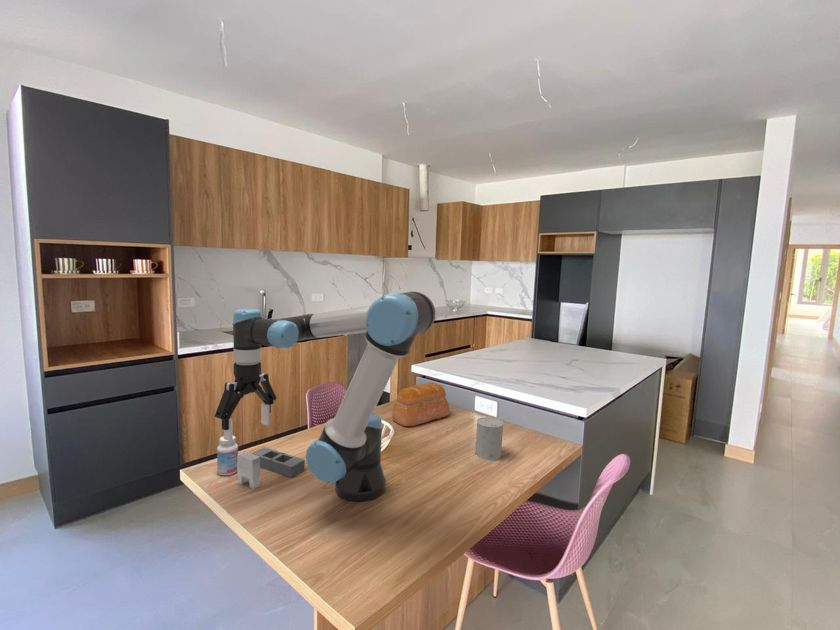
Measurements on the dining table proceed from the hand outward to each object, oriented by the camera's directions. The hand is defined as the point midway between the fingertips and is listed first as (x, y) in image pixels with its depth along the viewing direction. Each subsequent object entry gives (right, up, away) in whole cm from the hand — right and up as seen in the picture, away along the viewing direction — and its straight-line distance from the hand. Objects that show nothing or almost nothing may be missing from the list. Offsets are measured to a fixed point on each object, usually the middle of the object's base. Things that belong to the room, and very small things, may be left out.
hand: (247, 431), depth 126 cm
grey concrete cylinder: (+76, -16, +29) cm, 83 cm away
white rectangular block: (0, -16, +2) cm, 17 cm away
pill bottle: (-10, -15, +9) cm, 21 cm away
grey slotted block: (+4, -15, +13) cm, 21 cm away
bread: (+52, -12, +62) cm, 82 cm away
